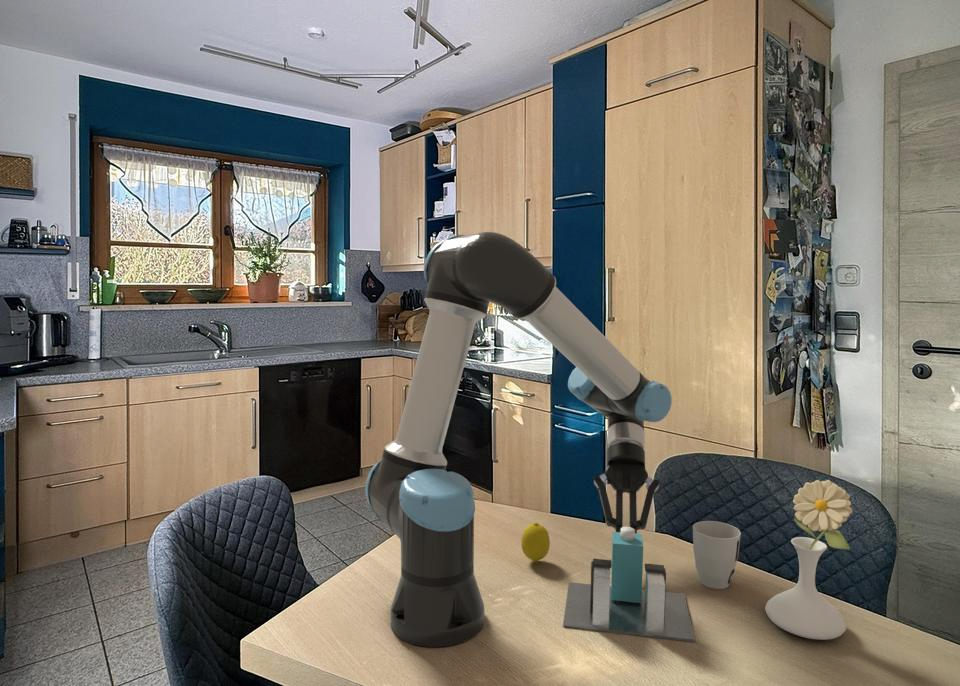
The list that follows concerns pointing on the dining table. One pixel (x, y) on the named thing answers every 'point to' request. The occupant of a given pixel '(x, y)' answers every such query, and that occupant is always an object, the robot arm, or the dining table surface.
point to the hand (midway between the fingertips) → (626, 563)
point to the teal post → (627, 566)
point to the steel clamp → (628, 606)
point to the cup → (715, 552)
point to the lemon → (535, 542)
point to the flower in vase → (813, 564)
